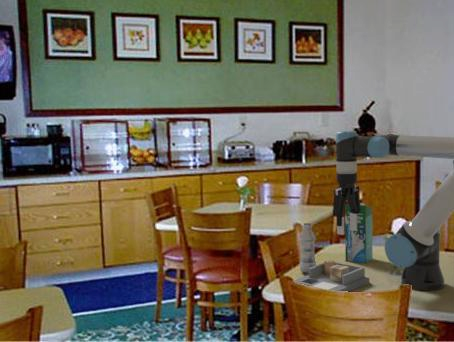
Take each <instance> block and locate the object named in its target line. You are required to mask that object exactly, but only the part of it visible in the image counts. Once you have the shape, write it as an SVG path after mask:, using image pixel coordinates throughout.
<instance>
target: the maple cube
mask: <svg viewBox="0 0 454 342" xmlns="http://www.w3.org/2000/svg"><path fill="white" fill-rule="evenodd" d="M347 273H349V267H347V266H342V265H335V266H332V267H330V281H335V282H339V283H342V275H344V274H347Z"/></svg>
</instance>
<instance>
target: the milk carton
mask: <svg viewBox="0 0 454 342" xmlns="http://www.w3.org/2000/svg"><path fill="white" fill-rule="evenodd" d="M360 207H361V210H360V213H359V214H357V231H352V230H350V213H351V210H350V206H349V203H347V204H345V209H344V236H345V240H344V241H345V243H344V244H345V246H344V247H345V253H344V254H345V262H350V261H351V263H352V262H353V263H359V264H366V263H368V262H369V261H371V260H372V259H373V207H372V206H370V205H369V206H368V205H366V204H365V203H364V202H363V203H362V202H360ZM357 208H358V207H357Z"/></svg>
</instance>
